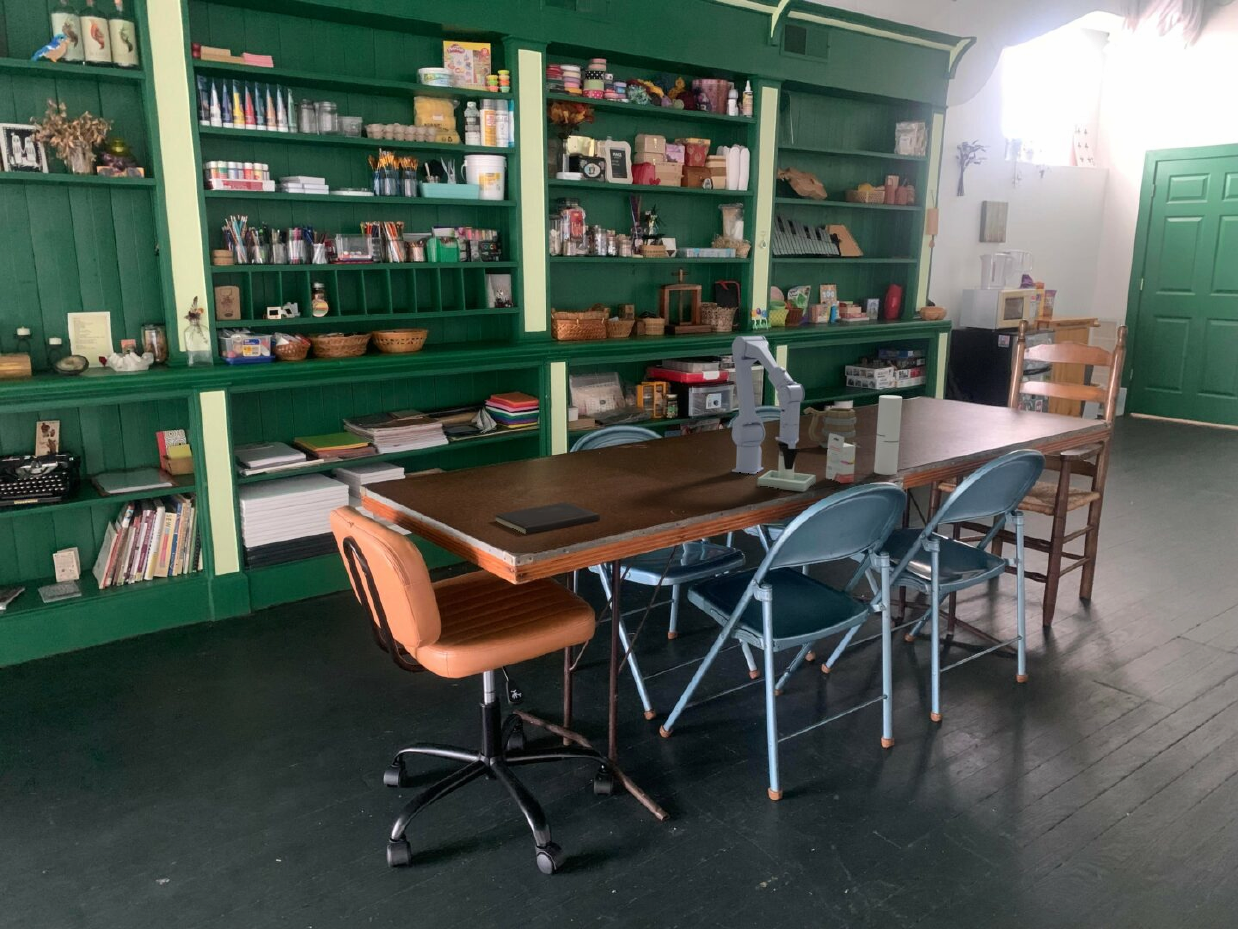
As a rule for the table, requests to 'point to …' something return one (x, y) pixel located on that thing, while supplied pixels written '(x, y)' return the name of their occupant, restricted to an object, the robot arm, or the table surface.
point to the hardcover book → (546, 518)
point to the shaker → (782, 471)
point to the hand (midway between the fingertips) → (787, 467)
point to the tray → (787, 481)
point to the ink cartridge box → (840, 460)
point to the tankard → (833, 425)
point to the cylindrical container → (888, 434)
